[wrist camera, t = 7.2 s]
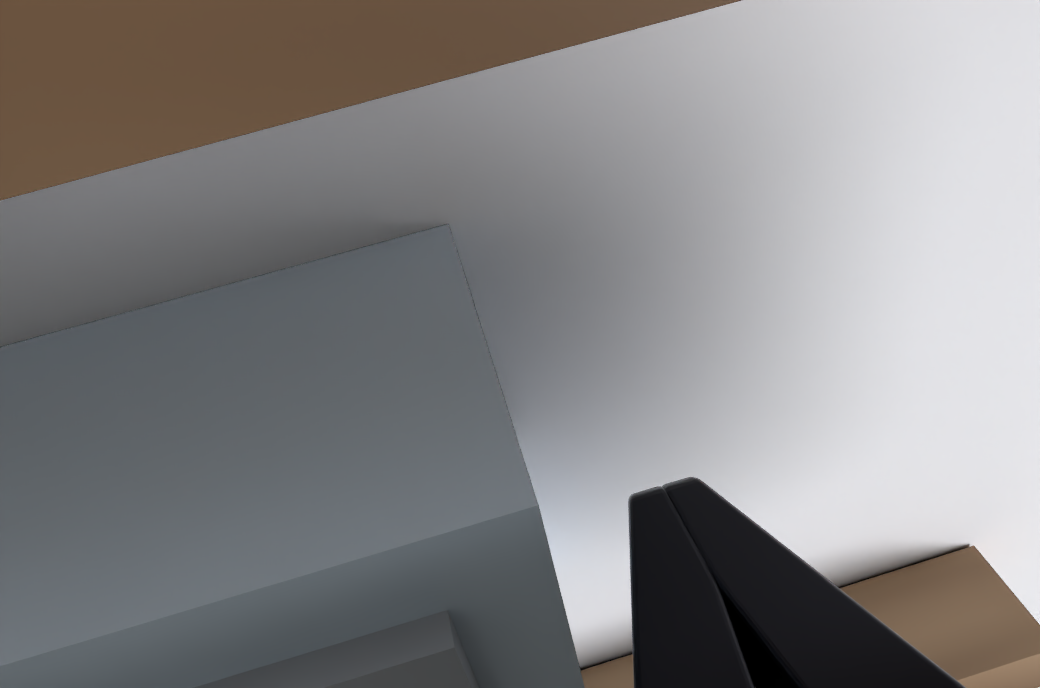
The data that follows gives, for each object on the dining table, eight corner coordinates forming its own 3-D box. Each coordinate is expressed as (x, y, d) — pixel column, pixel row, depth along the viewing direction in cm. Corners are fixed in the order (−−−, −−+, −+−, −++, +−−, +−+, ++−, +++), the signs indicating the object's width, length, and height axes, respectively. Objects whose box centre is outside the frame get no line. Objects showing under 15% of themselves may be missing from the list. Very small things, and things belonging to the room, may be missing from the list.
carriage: (538, 560, 12) (634, 878, 9) (-1, 724, 12) (-115, 1127, 8) (445, 213, 8) (549, 540, 5) (-359, 434, 8) (-823, 956, 5)
